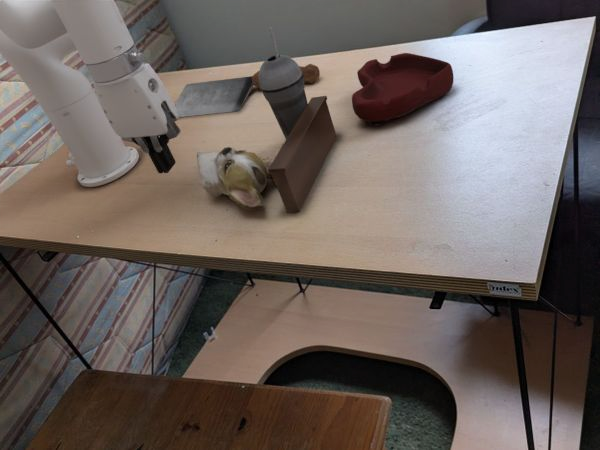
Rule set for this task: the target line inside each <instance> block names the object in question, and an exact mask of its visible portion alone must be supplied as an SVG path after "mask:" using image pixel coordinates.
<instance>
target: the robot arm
mask: <svg viewBox="0 0 600 450" xmlns="http://www.w3.org/2000/svg"><path fill="white" fill-rule="evenodd" d="M76 51H77V52H78V54H79V56H80V58H81V60H82V61H83V64H84V66H85V67H86V69H87V71H88V73H89V75H90V76H91V79H92V84H93V86H92V84H91V82H90V81H89V80H88V78H87V76H85V75H84V74H83V73H82V72H81V71H79V70H77V69H76V68H73V67H70V66H68V65H66V64H65V63H63V62H62V60H63V59H65V58H67V57H68V56H69V55H71V54H73V53H74V52H76ZM0 55H1V56H2V58H3V59H4V60H5V61H6V62H7V63H8V65H9V66H10V67H11V68H12V69H13V70H14V72H15V73H16V74H17V75H18V76H19V78H20V79H21V80H22V82H23V83H24V85H26V88H28V89H29V91H30V93H31V94H32V95H33V97H34V98H35V100H36V101H37V103H38V104H39V106H40V107H41V109H42V111H43V112H44V114H45V115H46V117H47V118H48V120H49V122H50V123H51V125H52V126H53V128H54V129H55V132H56V133H57V135H58V136H59V137H60V139H61V141H62V142H63V144H64V145H65V147H66V148H67V151H68V152H69V153H68V160H66V163H65V164H66V166H67V167H68V168H71V167H72V168H73V167H75V168H76V169H77V171H78V174H77V181H78V183H79V184H80V186H82V187H86V188H94V187H100V186H103V185H106V184H108V183H111V182H113V181H115V180H117V179H119V178H121V177H123V176H124V175H125V174H127V173H128V172H130V171H131V170H132V169H133V168H134V167H135V165H136V164H137V163H138V161H139V159H140V154H139V152H138V150H137V148H136V147H133V146H126V145H125V143H124V142H127V143H134V144H135V145H137V146H138V147H140V149H141V150H142V151H143V153H145V154H148V156H149V159H150V160H151V162H152V164H153V166H154V168H155V169H156V171H157V173H158V174H169V173H170V171H171V169H173V167H174V166H175V165H176V160H175V158H174V155H173V154H172V151H171V149H170V147H169V145H168V144H169V143H170V140H173V139H175V138H177V137H178V136H180V134H181V129H180V127H179V126H178V125H177V123H176V122H177V121H178V120H179V119H180V117H179V114H178V111H177V109H176V107H175V103H174V101H173V100H172V97H171V95H170V94H169V92H168V90H167V88H166V86H165V85H164V84H163V82H162V80H161V78H160V77H159V75H158V74H157V73H156V71H155V70H154V69H153V67H152V66H151V64H149V63H147V62H146V63H144V62H145V61H146V54H145V53H144V52H143V51H141V52H139V50H138V48H137V45H136V44H135V41H134V40H133V37H132V36H131V33H130V31H129V29H128V27H127V25H126V23H125V20H124V18H123V16H122V14H121V12H120V10H119V7H118V6H117V3H116V2H115V0H0Z"/></svg>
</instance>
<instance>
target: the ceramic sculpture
mask: <svg viewBox="0 0 600 450" xmlns="http://www.w3.org/2000/svg"><path fill="white" fill-rule="evenodd" d="M196 160H197V167H198V172H199V177H200V180H201V186H202V187H203V189H204V190H205V192H206V193H207V194H208V195H210V196H212V197H220V196H222V195H226V196H228V197H229V199H230V200H231V201H232V202H233V203H234V204H236V205H237V206H239V207H240V208H243V210H250V211H251V210H259V209H263V208H265V205H264V202H263V201H264V200H263V196H262V194H261V192H263V191H264V189H265V187H266V186H267V183H268V180H269V181H274V178H273V176H272V173H269V171H268V169H269V167H270V165H271V164H272V162H273V161H274V159H271V158H269V157H267V158H261V157H260V156H259V155H258V154H256V153H255V152H252V151H247V150H246V149H245V150H244V149H243V150H236V149H235V148H234V147H230V146H227V147H224V148H222V149H221V150H220V151H219V152H218V151H214V150H212V151H198V152H196Z"/></svg>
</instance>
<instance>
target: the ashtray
mask: <svg viewBox="0 0 600 450" xmlns="http://www.w3.org/2000/svg"><path fill="white" fill-rule="evenodd" d="M356 74H357V79H358V81H359V84H360V86H361V88H360V89H358V90H357V91H355V92H354V93H353V94H352V95H351V106H352V109H353V112H354V114H355V116H356V117H357V118H358V119H360V120H361V121H363V122H364V121H365V122H369V124H370V125H371V126H379V125H382V124H384V123H386V122H387V121H390V120H394V119H399V118H400V117H403V116H406V115H407V114H409V113H411V112H412V111H414V110H416V109H417V108H420V107H422V106H425V105H426V104H428V103H430V102H433V101H435V100H437V99H439V98H440V99H441V98H442V97H444V96H446V95H447V93H449V92H450V91H451V89H452V88H453V85H454V78H455V77H454V76H455V75H454V71H453V67H452V65H451V63H449V62H448V61H444V60H442V59H438V58H433V57H429V56H425V55H419V54H415V53H409V52H402V53H398V54H394V55H391V56H390V58H389V60H388V61H387V62H385V63H382V62H380V61H379V60H378V59H377V58H375V59H370V60H368V61H366V62H365V63H364V65H363V66H362V67H360V68H359V69H358V70H357V72H356Z"/></svg>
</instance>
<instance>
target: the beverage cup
mask: <svg viewBox="0 0 600 450" xmlns="http://www.w3.org/2000/svg"><path fill="white" fill-rule="evenodd" d="M269 33H270V38H271V42H272V47H273V52H274V55H272V56H269V57H268V58H267V59H266V60H264V61H263V62H262V64H261V66H260V69H259V70H258V71H259V84H260V88H259V90H260V92H262V95H263V96H264V98H265V100H266V101H267V102H268V105H269V107H270V109H271V111H272V114H273V115H274V117H275V119H276V121H277V124H278V126H279V128H280V130H281V132H282V134H283V137H284V139H285V140H286V139H287V137H288V136H289V134H290V133H291V131H292V129H293V128H294V126H295V124H296V123H297V121H298V119H299V118H300V116H301V114H302V113H303V111H304V109H305V108H306V106H307V105H308V103H309V102H308V99H307V95H306V91H305V82H304V79H303V76H304V75H303V73H302V71H301V70H300V67H299V66H300V65H299V64H298V63H297V62H296V61H295V60H294V59H293V58H291V57H290V56H288V55H285V54H279V50H278V46H277V42H276V41H277V40H276V37H275V33H274V28H273V27H269Z"/></svg>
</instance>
